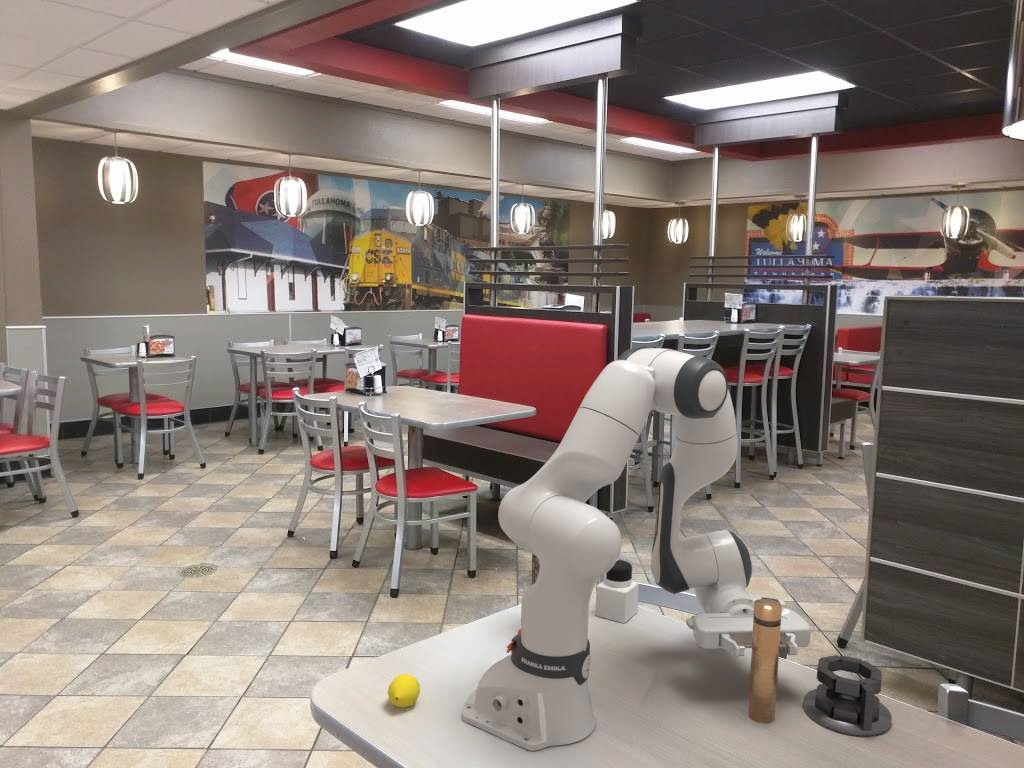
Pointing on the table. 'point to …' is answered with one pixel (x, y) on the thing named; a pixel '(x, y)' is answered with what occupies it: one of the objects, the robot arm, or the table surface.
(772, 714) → the tube
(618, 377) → the robot arm
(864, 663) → the collar stand
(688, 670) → the table surface
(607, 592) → the medicine bottle
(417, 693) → the lemon
